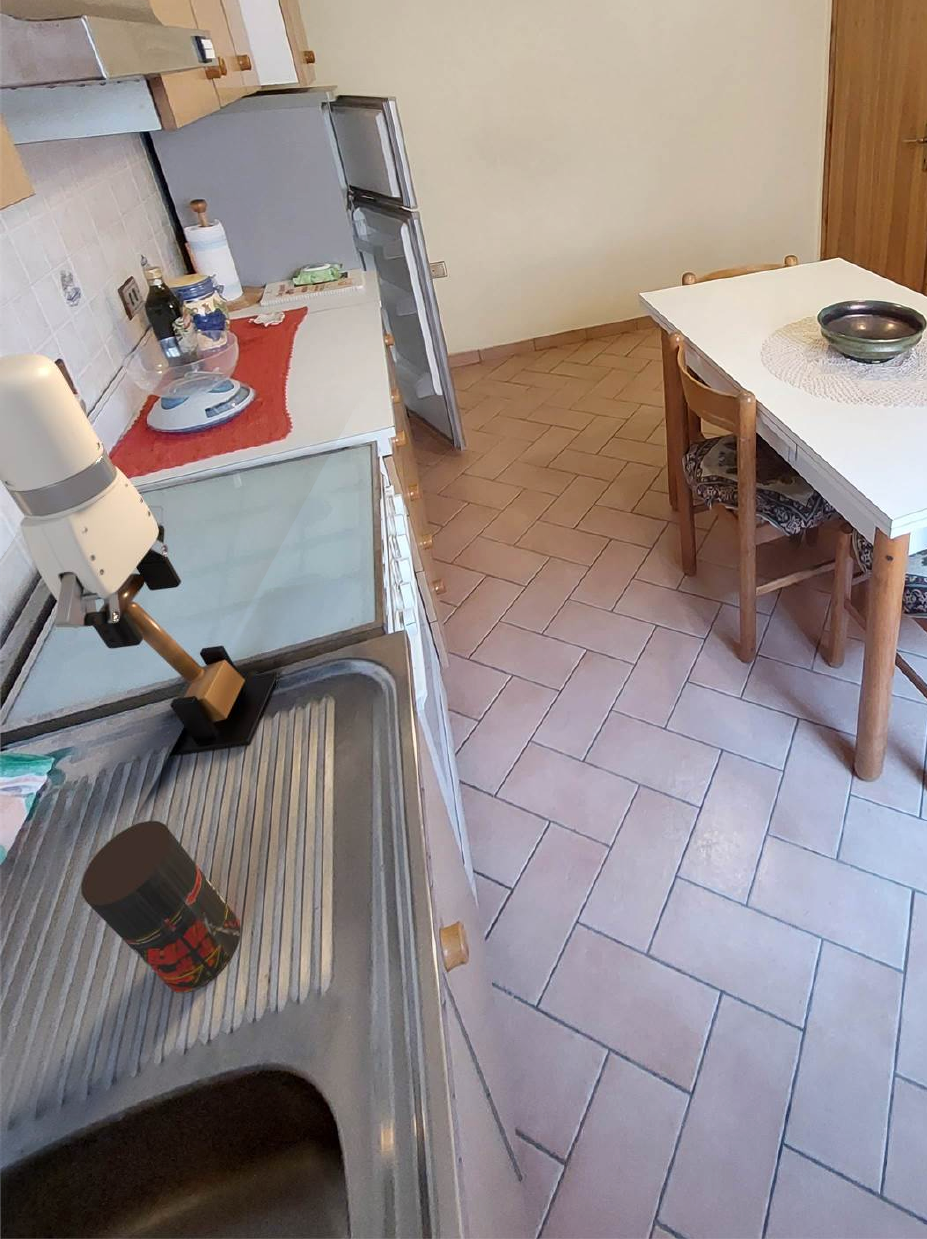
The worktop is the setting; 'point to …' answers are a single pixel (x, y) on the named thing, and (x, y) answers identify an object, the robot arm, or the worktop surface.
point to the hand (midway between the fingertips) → (146, 613)
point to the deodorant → (162, 906)
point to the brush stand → (239, 721)
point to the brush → (183, 658)
